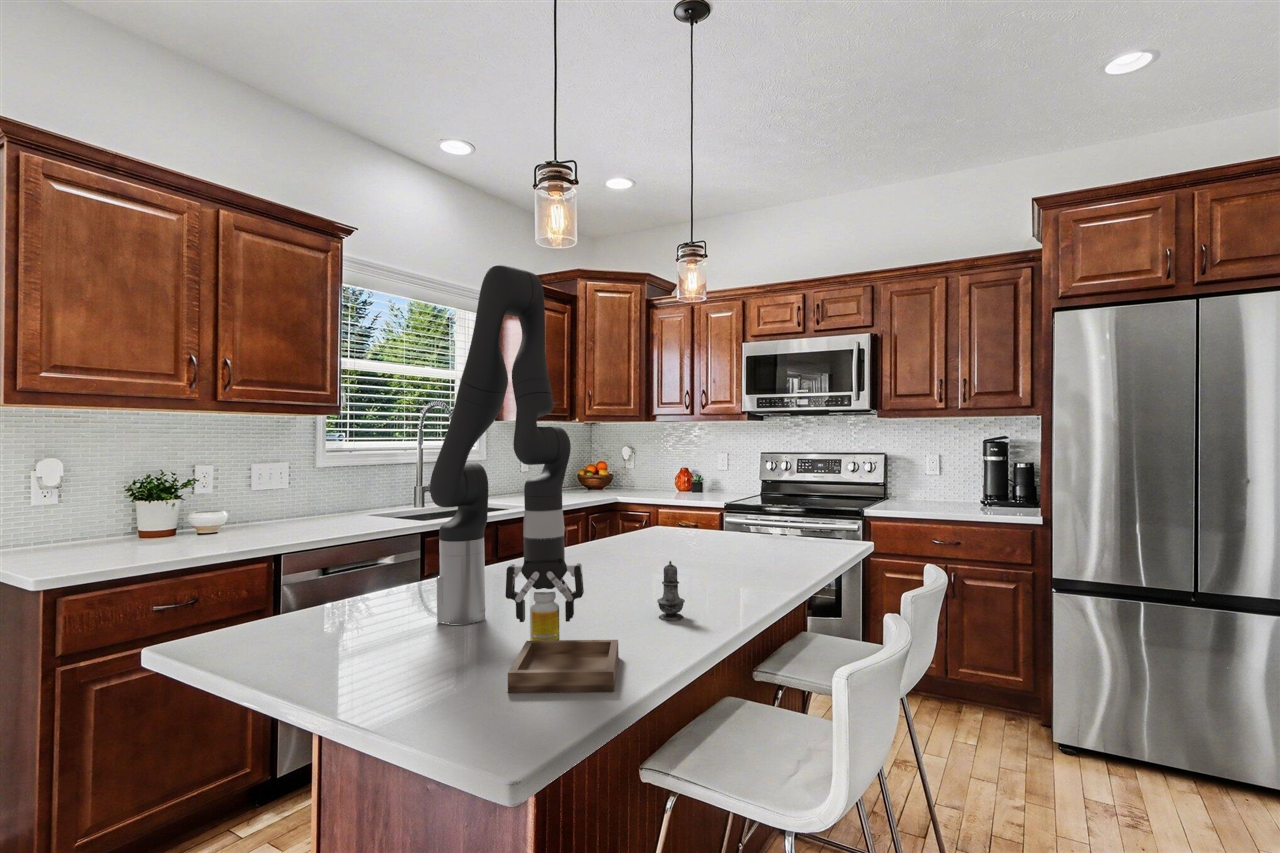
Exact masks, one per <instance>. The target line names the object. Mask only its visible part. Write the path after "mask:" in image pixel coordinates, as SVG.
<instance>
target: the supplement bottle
mask: <svg viewBox="0 0 1280 853" xmlns="http://www.w3.org/2000/svg"><path fill="white" fill-rule="evenodd" d="M556 598H557V597H556V591H555V590H553V589H539V590H537V591H534V592H533V601H534V602H533V603H532V604H531V605H530V609H529V612H530V613H529V616H530V619H529V620H530V622H529V623H530V624H529V625H530V626H529V627H530V628H529V629H530V631H529V632H530V635H529V636H530V640H529V641H544V640H560V606H559V603H557V601H555V600H556Z"/></svg>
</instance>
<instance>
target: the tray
mask: <svg viewBox="0 0 1280 853" xmlns="http://www.w3.org/2000/svg"><path fill="white" fill-rule="evenodd" d="M618 663H619V639H563V640H562V639H561V640H560V639H559V640H544V641H531V640H526V641H525V643H524V644H523V646H522V648H521V649H520V651H519V653H518V654H517V656H516V658H515V660H514V661H513V663H512V665H511V666H510V668H509V670H508V671H507V693H508V694H516V693H517V694H518V693H519V694H523V693H530V694H531V693H532V694H533V693H535V694H536V693H537V694H538V693H605V692H606V693H607V692H609V693H610V692H611V693H614V691H615V684H616V678H617V671H618Z"/></svg>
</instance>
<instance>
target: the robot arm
mask: <svg viewBox="0 0 1280 853" xmlns="http://www.w3.org/2000/svg"><path fill="white" fill-rule="evenodd" d="M545 311H546V310H545V291H544V287H543V282H542V281H541V279H540V277H539V276H538V275H537V274H536V273H533V272H531V271H528V270H524V269H520V268H515V267H511V266H508V265H505V264H495V265H492V266H491V267H490V268H489V269H488V270H487V271H486V273H485V275H484V278H483V279H482V284H481V286H480V291H479V296H478V302H477V309H476V314H475V320H474V321H475V322H474V326H473V331H472V332H473V333H472V337H471V340H470V346H469V349H468V354H467V358H466V362H465V365H464V368H463V372H462V375H461V379H460V382H459V385H458V386H459V387H458V390H457V394H456V398H455V403H454V407H453V411H452V414H451V417H450V422H449V424H448V428H447V431H446V434H445V437H444V440H443V443H442V445H441V448H440V451H439V453H438V455H437V458H436V461H435V464H434V467H433V470H432V472H431V478H430V481H429V493H430V497H431V500H432V502H433V503H434V504H435V506H438V507H439V508H456V507H457V509H456V510H457V511H456V513H455V514H454V516H453V517H451V519H449V520H448V521H446V522H445V523H443V524H442V525H440V527H439V529H438V530H439V531H438V532H439V533H438V536H439V537H438V538H439V544H438V545H439V546H438V547H439V548H438V549H439V550H438V551H439V575H438V576H437V577H436V623H437V622H444V623H449V624H466V625H470V624H469V623H473V624H476V623H475V622H477V623H480V622H482V621H484V620H485V619H486V576H485V575H486V572H485V571H486V570H485V567H486V565H485V563H486V562H485V559H486V558H485V529H486V526H487V522H488V514H489V512H488V510H489V509H488V508H489V478H488V475H487V472H486V469H485V468H484V466H483V465H482V464H481V463H479V462H475V461H468V457H469V455H470V453H471V451H472V449H473V447H474V446H475V444H476V443H477V442H478V441H479V439H480V438H481V437H482V436H483V435H484V434H485V432H487V430H488V429H489V428H490V426H492V424H493V423H494V422H495V421H496V419H497V418H498V417H499V414H500V413H501V410H502V407H503V404H504V400H505V397H506V393H507V390H508V386H509V375H508V370H507V366H506V363H505V360H504V356H503V351H502V349H501V341H500V340H501V331H502V325H503V320H504V318H505V315H506V316H510V317H511V316H512V317H516V318H518V321H519V323H520V328H521V341H520V345H519V348H518V351H517V353H516V356H515V359H514V362H513V364H512V368H511V383H512V390H513V395H514V396H513V397H514V401H515V406H516V411H515V412H516V413H515V425H514V434H513V435H514V436H513V445H512V446H513V451H514V454H515V456H516V458H517V459H518V461H520V463H521V464H524V465H527V466H534V465H537V466H538V465H543V468H542V470H541V473H540V474H539V475H537V476H534V477H532V478H529V479H527V480H526V481H525V483H524V488H523V491H524V493H523V495H524V498H523V499H524V511H523V512H524V516H523V521H522V522H523V523H522V524H523V564H522V566H521V565H515V564H514V563H513V564H510V565H509V566H508V567H507V568H506V577H505V598H506V599H507V600H513V601H514V602H515V617H516V620H519V623H524V622H525V621H526V600H525V599H524V598H525V597H526V595H527V594H528V592H529V591H530V590H531V588H533V589H535V590H544V589H545V590H553V589H555V588H556V590H558V592H559V593H560V594H561V595H562V596H563V597H564V599H565V602H564V604H565V606H564V607H565V608H564V609H565V622H571V619H573V618H574V615H575V600H576V599H581V598H582V597H583V595H584V594H585V593H584V591H585V589H584V579H583V578H584V577H583V567H582V564H581V563H576V564H570V565H567V564H566V559H565V556H566V554H565V533H566V532H565V531H566V528H565V519H564V511H563V484H564V480H565V478H566V477H565V476H566V473H567V469H568V464H569V460H570V456H571V448H572V447H571V446H572V445H571V440H570V436H569V435H568V433H567V431H566V430H565V429H564V428H562V427H560V426H538V424H537V422H538V418H543V417H544V416H547V415H549V414H550V413H552V412H553V410H554V406H555V405H554V404H555V403H554V398H553V392H552V388H551V381H550V376H549V372H548V365H547V356H546V355H547V353H546V314H545V313H546V312H545ZM567 572H568V573H570V576H571V577H572V578H574V585H575V586H574V587H575V588H574V589H575V590H574V591H572V589H571V588H570V587H569V584H568V582H566V581H565V579H564V577H565V575H566V574H567ZM520 573H521V574H522V575H523V577H524V578H525V580H526V583H525V584H524V585H523V587H522V588H521V589H520V591H519V592H518V591H515V588H516V578H518V576H519V575H520ZM483 619H484V620H483ZM481 620H482V621H481ZM479 621H480V622H479Z"/></svg>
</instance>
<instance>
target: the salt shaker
mask: <svg viewBox="0 0 1280 853" xmlns="http://www.w3.org/2000/svg"><path fill="white" fill-rule="evenodd" d="M661 583H662V585H663V594H662V596H661V597H660V598H658V599H657V601H656V602H657V604H658V607H659V610H660V611H661V612H662V613H661V614H659V616H658V619H659V620H660V619H661V621H664V620H667V621H666V622H676V621H675V620H678V621H681V619H682V620H684V618H685V617H684V615H683V614H681V613H680V612H681V611H682V610H683V608H684V603H685V602H686V601H685V599H684V598H681V597H680V594H679V584H680V581H678V567H677V566H676V565H673V563H672V561H671V560H669V562H668V564H667V565H665V566H664V567H663V581H662V582H661Z"/></svg>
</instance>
